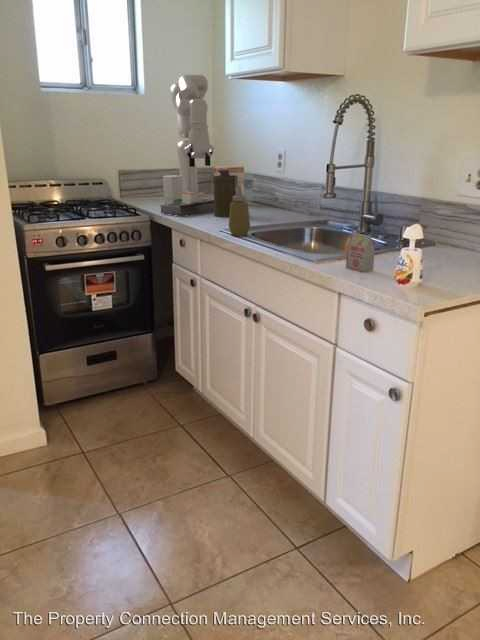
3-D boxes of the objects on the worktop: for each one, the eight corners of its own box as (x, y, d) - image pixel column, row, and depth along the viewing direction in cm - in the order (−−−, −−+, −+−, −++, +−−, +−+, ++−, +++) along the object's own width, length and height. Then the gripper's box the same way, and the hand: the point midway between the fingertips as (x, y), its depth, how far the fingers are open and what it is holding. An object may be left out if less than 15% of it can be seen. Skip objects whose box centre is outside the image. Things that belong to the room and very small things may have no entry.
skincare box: (172, 208, 272) (171, 176, 267) (163, 207, 276) (161, 176, 271) (184, 206, 278) (183, 175, 273) (175, 205, 282) (173, 174, 277)
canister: (216, 217, 244) (215, 171, 238) (212, 214, 254) (210, 169, 247) (239, 216, 247) (239, 170, 240) (234, 213, 256) (234, 169, 250)
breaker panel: (198, 208, 273) (198, 197, 272) (218, 210, 264) (218, 199, 262) (161, 213, 257) (160, 202, 255) (180, 216, 248) (180, 205, 246)
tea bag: (354, 266, 158) (357, 231, 155) (373, 270, 153) (375, 235, 150) (346, 268, 156) (347, 233, 153) (363, 272, 151) (366, 236, 148)
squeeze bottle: (248, 237, 200) (248, 187, 194) (226, 236, 201) (225, 186, 195) (251, 233, 207) (251, 184, 201) (230, 232, 209) (230, 184, 203)
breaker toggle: (188, 202, 262) (188, 191, 261) (197, 203, 258) (196, 192, 257) (182, 202, 260) (181, 192, 258) (190, 204, 256) (190, 193, 254)
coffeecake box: (243, 204, 286) (243, 165, 280) (244, 205, 280) (244, 166, 273) (215, 204, 286) (214, 165, 280) (215, 206, 279) (214, 166, 273)
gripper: (207, 127, 261) (208, 165, 267) (179, 128, 250) (180, 166, 256) (218, 127, 256) (218, 165, 262) (189, 127, 245) (191, 167, 250)
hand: (200, 166), depth 259 cm, fingers open, 9 cm apart
